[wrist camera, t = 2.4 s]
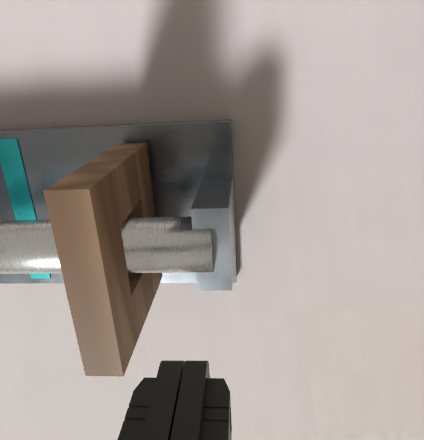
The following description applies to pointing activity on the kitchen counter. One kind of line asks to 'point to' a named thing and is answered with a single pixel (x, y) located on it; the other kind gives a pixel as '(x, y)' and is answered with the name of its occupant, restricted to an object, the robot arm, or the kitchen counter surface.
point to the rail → (132, 227)
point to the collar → (103, 253)
